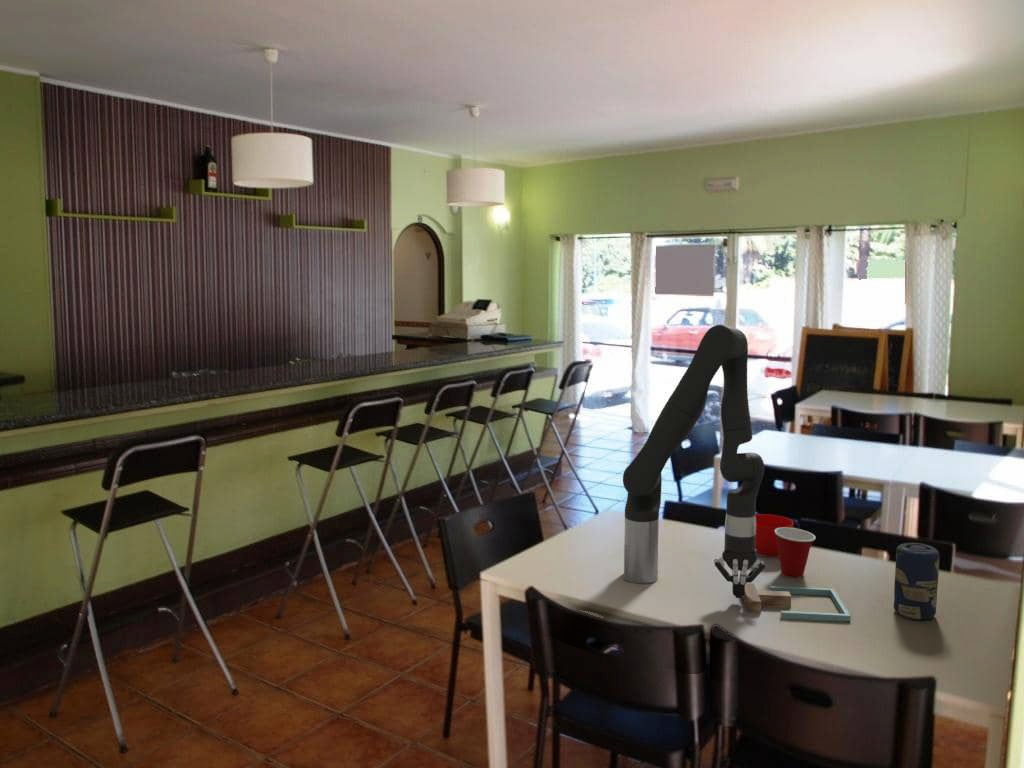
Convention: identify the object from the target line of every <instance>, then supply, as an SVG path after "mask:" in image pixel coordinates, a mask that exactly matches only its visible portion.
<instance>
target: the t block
mask: <svg viewBox="0 0 1024 768" xmlns="http://www.w3.org/2000/svg"><path fill="white" fill-rule="evenodd" d="M742 598H743V600H744V601H743V602H744V604H745V608H746V610H747V613H748V614H749V613H750V614H761V612H762V607H772V608H792V594H790V592H787V591H770V590H762V589H761V590H760V589H757V588H756V585H755V583H754V582H753V583H752V582H751V583H749V582H748V583H746V584H745V594H744V596H742Z"/></svg>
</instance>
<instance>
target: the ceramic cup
mask: <svg viewBox="0 0 1024 768" xmlns="http://www.w3.org/2000/svg"><path fill="white" fill-rule="evenodd" d="M755 518H756V545H755V551H756V552H757V554H759V555H761V554H762V555H761V556H763V555H765V556H764V557H769V556H772V558H773V557H775V556H776V557H779V552H778V543H777V539H776V534H775V529H777V528H783V527H787V528H794V521H793V520H792V519H790V518H789V517H785V516H782V515H779V514H766V513H764V514H763V513H762V514H761V513H760V514H755Z"/></svg>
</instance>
